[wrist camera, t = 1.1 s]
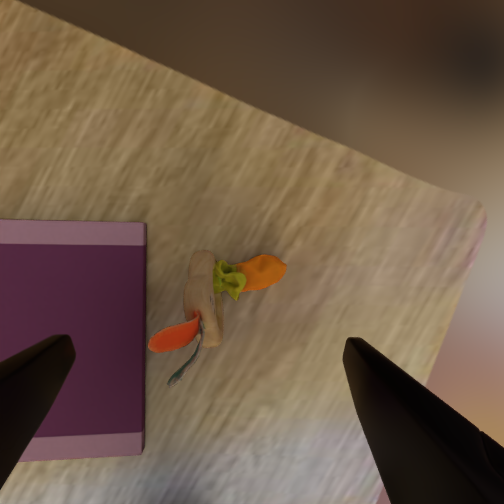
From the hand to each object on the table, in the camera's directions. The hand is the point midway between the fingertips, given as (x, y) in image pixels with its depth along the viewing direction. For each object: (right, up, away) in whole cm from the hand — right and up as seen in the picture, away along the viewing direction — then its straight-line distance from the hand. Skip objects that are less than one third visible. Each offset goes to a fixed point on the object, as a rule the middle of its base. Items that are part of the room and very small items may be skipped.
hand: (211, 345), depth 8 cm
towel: (-15, -4, +13) cm, 21 cm away
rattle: (0, -1, +15) cm, 15 cm away
